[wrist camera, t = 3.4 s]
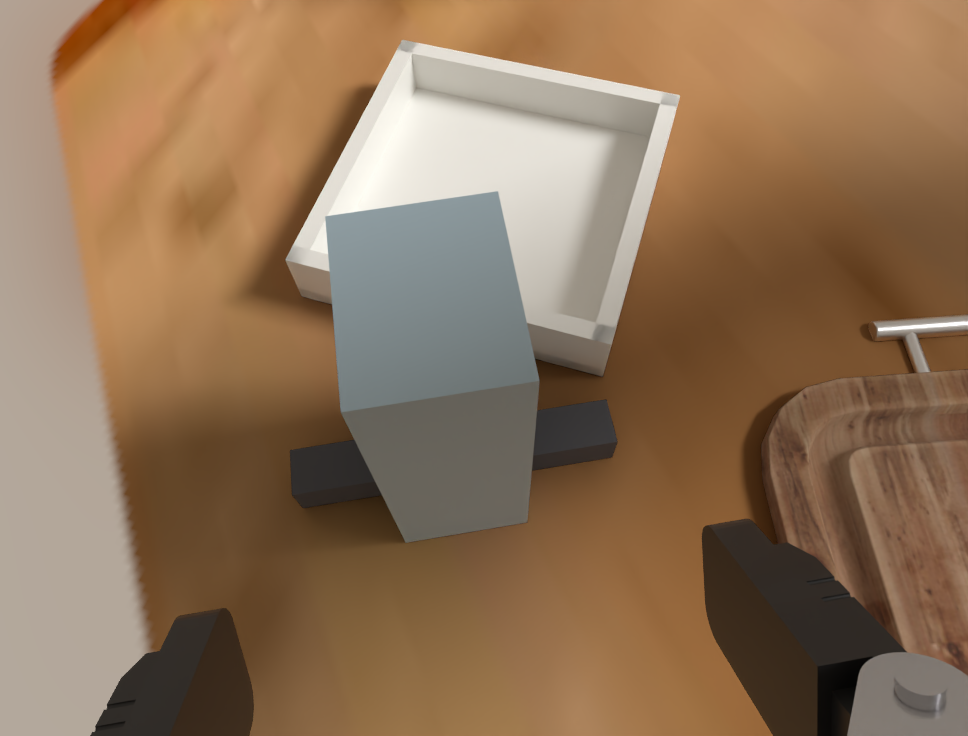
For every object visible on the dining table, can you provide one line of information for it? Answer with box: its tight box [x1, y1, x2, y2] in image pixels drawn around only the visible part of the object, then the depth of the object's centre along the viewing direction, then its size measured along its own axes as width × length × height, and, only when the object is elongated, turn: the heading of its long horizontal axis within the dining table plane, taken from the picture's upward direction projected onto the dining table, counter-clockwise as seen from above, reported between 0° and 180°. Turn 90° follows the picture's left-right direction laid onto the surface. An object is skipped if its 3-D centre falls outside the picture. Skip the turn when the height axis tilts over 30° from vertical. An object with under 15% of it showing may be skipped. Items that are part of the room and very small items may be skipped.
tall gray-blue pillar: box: [325, 191, 540, 543], centre depth 22 cm, size 4×5×11 cm
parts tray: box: [285, 40, 680, 377], centre depth 30 cm, size 12×12×2 cm
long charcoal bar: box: [290, 400, 617, 508], centre depth 26 cm, size 11×2×2 cm, turn 99°
